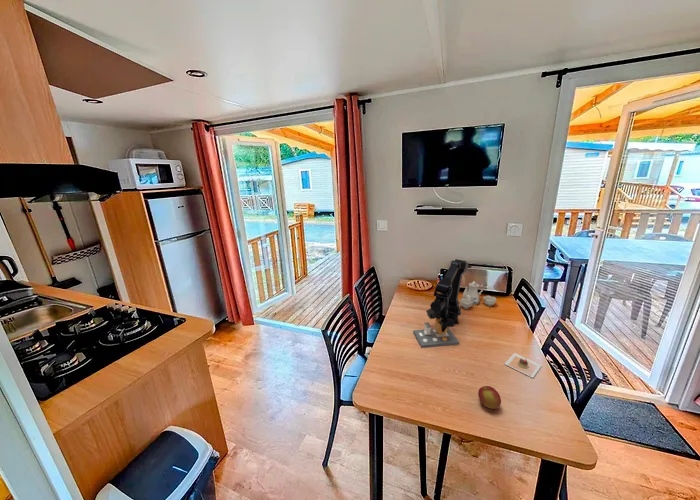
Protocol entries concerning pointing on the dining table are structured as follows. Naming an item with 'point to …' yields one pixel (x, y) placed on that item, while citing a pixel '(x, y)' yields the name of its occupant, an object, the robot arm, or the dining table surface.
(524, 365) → the dessert
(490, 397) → the apple
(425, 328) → the lever
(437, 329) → the mustard yellow cube
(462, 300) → the chinaware
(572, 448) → the dining table surface
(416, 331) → the breaker panel
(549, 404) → the dining table surface
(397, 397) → the dining table surface
